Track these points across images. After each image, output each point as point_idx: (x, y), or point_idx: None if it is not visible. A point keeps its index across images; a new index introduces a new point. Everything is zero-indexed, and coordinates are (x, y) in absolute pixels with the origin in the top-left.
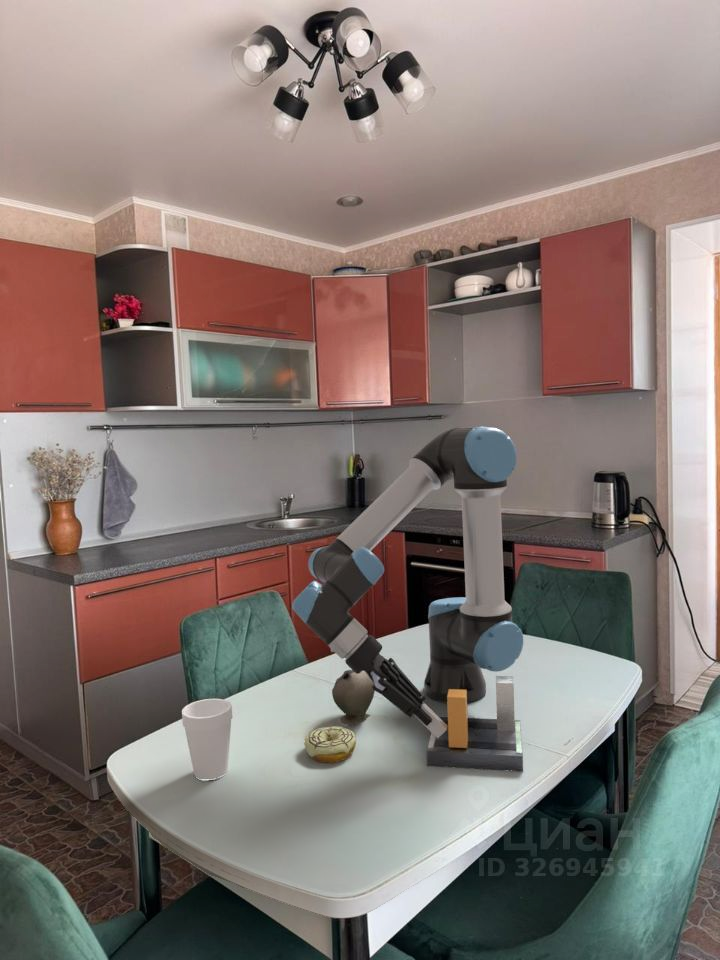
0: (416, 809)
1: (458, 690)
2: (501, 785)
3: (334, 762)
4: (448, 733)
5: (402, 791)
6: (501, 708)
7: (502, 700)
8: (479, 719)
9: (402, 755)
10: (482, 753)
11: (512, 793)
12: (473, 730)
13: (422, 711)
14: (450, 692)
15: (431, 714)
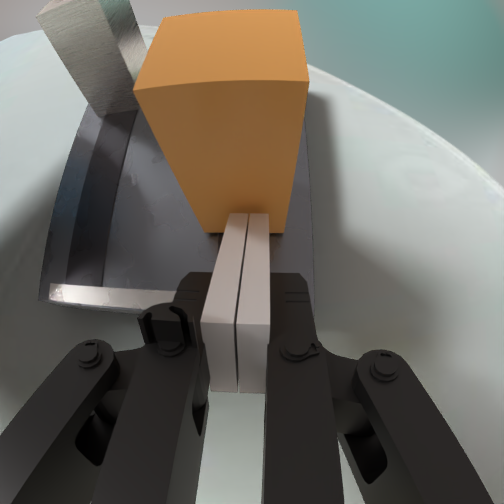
0: (499, 311)
1: (171, 40)
2: (367, 128)
3: None
4: (287, 211)
5: (446, 365)
6: (129, 51)
7: (122, 29)
8: (73, 160)
9: (238, 409)
10: (301, 134)
11: (391, 114)
12: (139, 166)
13: (300, 327)
14: (206, 69)
15: (269, 270)
